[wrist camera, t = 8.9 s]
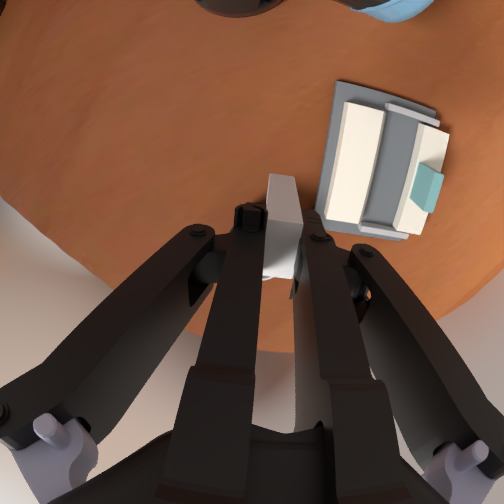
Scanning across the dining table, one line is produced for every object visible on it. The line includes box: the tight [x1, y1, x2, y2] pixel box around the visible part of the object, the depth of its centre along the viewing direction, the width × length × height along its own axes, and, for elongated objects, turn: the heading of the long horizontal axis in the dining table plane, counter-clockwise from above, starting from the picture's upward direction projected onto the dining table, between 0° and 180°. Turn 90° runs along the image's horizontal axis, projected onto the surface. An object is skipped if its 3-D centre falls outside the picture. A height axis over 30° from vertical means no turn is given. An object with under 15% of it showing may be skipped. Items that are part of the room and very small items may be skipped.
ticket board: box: [314, 81, 440, 242], centre depth 39 cm, size 24×17×4 cm
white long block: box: [393, 123, 450, 235], centre depth 36 cm, size 18×5×7 cm, turn 175°
